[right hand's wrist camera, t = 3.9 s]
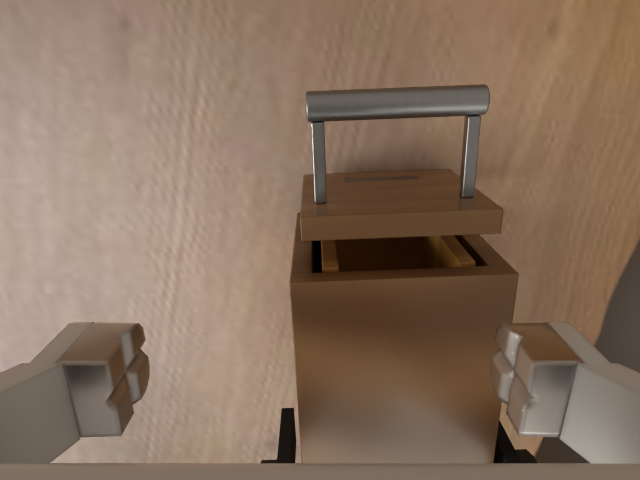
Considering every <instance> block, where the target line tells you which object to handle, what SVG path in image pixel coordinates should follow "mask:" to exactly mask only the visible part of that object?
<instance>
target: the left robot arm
mask: <svg viewBox="0 0 640 480" xmlns="http://www.w3.org/2000/svg"><path fill="white" fill-rule="evenodd" d="M295 454H296V433H295V419H294V408H282V413H281V424H280V435H279V446H278V457H277V460H262V461H261V463H295ZM493 463H537V462H536V460H535V458H534V456H533V455H532V454H531V453H529V452H528V451H527V450H526V449H522V450H515V449H514V447H513V445H512V443H511V441H510V439H509V438H508V436H507V434H506V432H505V430H504V428H503V426H502V424H501V422H500V420H499V425H498V432H497V440H496V447H495V455H494V462H493Z"/></svg>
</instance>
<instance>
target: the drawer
mask: <svg viewBox="0 0 640 480" xmlns="http://www.w3.org/2000/svg"><path fill="white" fill-rule="evenodd" d="M489 102H490V93H489V88H488V86H487V85H485V84H482V85H457V86H432V87H407V88H381V89H356V90H331V91H308V92H306V116H307V121H308V122H311V130H312V153H313V175H304V177H303V189H302V201H301V214H300V224H301V240H302V241H321V260H322V273H327V272H352V271H377V270H401V269H426V268H451V267H475V263H476V262H475V261H474V260H473V258H472V257H471V256H470V255H469V254H468V252H467V251H466V250H465V249H464V248H463V246H462V245H461V244H460V243H459V242H458V241H457V239H456V238H455V237H454V236H453V235H471V234H496V233H501V226H502V217H503V208H501V207H500V206H499V205H497V204H496V203H494V202H493V201H492V200H490V199H489V198H488V197H486V196H485V195H484V194H482V193H481V192H480V191H478V190H477V189H476V188H475V179H476V168H477V156H478V145H479V134H480V122H481V116H479V115H484V114H485V113H486V112H487V110H488V107H489ZM447 116H465V123H464V137H463V150H462V163H461V176H460V177H459V176H458V175H457V174H455V173H454V172H453V171H451V170H450V169H439V170H413V171H388V172H363V173H338V174H326V165H325V134H324V121H346V120H372V119H397V118H422V117H447Z"/></svg>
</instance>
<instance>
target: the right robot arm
mask: <svg viewBox="0 0 640 480" xmlns="http://www.w3.org/2000/svg"><path fill="white" fill-rule="evenodd" d="M144 342H145V336H144V331H143V327H142V326H141V325H140V324H139V323H94V322H76V323H70V324H68V325H67V326H66V327H65V328H64V329H63V330H62V331H61V332H60V333H59V334H58V335H57V336H56V337H55V338H54V339H53V340H52V341H51V342H50V343H49V344H48V345H47V346H46V347H45V348H44V349H43V350H42V351H41V352H40V353H39V354H38V355H37V356H36V357H35V358H34V359H33V360H32V361H31V362H30V363H22V364H20V365H17V366H15V367H13V368H10V369H8V370H6V371H4V372H1V373H0V480H640V373H639V372H636V371H634V370H632V369H629V368H627V367H625V366H623V365H620V364H618V363H610V362H609V361H608V360H607V359H606V358H605V357H604V356H603V355H602V354H601V353H600V352H599V351H598V350H597V349H596V348H595V347H594V346H593V345H592V344H591V343H590V342H589V341H588V340H587V339H586V338H585V337H584V336H583V335H582V334H581V333H580V332H579V331H578V330H577V329H576V328H575V327H574V326H573V325H572V324H570V323H567V322H553V323H516V324H499V326H498V328H497V330H496V335H495V342H496V343H497V345H498V346H499V348H500V349H499V350H498V351H497V352H496V353H495V354H494V355H493V356H492V360H491V369H490V371H491V382H492V385H493V388H494V391H495V393H496V395H497V397H498V399H500V400H501V401H503V402H504V403H506V404H507V411H506V414H507V415H508V417H509V419H510V421H511V423H512V424H513V426H514V428H515V430H516V432H517V434H518V435H519V436H537V437H560V440H562V441H563V442H564V443H566V444H567V445H568V446H569V447H571V448H572V449H573V450H575V451H576V452H577V453H579V454H580V455H581V456H582V457H583V458H585V459H586V460H587V461H589V462H590V463H50V462H52V461H53V460H54V459H55V458H57V457H58V456H59V455H61V454H62V453H63V452H64V451H66V450H67V449H68V448H69V447H71V446H72V445H73V444H75V443H76V442H77V441H78V440H80V437H102V436H121V435H122V434H123V432H124V430H125V428H126V426H127V425H128V423H129V421H130V419H131V417H132V415H133V414H134V411H133V404H134V403H136V402H137V401H139V400H140V399H142V397H143V395H144V393H145V391H146V389H147V385H148V380H149V360H148V356H147V355H146V354H145V353H144V352H143V351H142V350H141V349H140V348H141V346H142V345H143V343H144Z"/></svg>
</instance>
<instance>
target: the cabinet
mask: <svg viewBox="0 0 640 480" xmlns="http://www.w3.org/2000/svg"><path fill="white" fill-rule="evenodd" d="M300 214H301V213H297V220H296V229H295V239H294V248H293V258H292V267H291V276H290V296H291V311H292V325H293V340H294V355H295V370H296V384H297V399H298V414H299V429H300V443H301V458H302V463H493V462H494V455H495V447H496V440H497V432H498V425H499V417H500V410H501V402H502V401H501V400H500V399H498V397H497V395H496V393H495V391H494V388H493V385H492V382H491V371H490V369H491V360H492V356H493V355H494V354H495V353H496V352H497V351H498V350H499V349H500V348H499V346H498V345H497V343H496V342H495V335H496V330H497V328H498V326H499V324H512V320H513V312H514V305H515V297H516V290H517V282H518V275H519V274H518V273H517V272H516V271H515V270H514V269H513V268H512V267H511V266H510V265H509V264H508V263H507V262H506V261H505V260H504V259H503V258H502V257H501V256H500V255H499V254H498V253H497V252H496V251H495V250H494V249H493V248H492V247H491V246H490V245H489V244H488V243H487V242H486V241H485V240H484V239H483V238H482V237H481V236H480V235H479V234H471V235H453V236H454V237H455V238H456V239H457V241H458V242H459V243H460V244H461V245H462V246H463V248H464V249H465V250H466V251H467V252H468V254H469V255H470V256H471V257H472V258H473V260H474V261H475V262H476V263H475V267H451V268H426V269H401V270H377V271H352V272H327V273H322V260H321V241H302V240H301V224H300Z"/></svg>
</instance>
